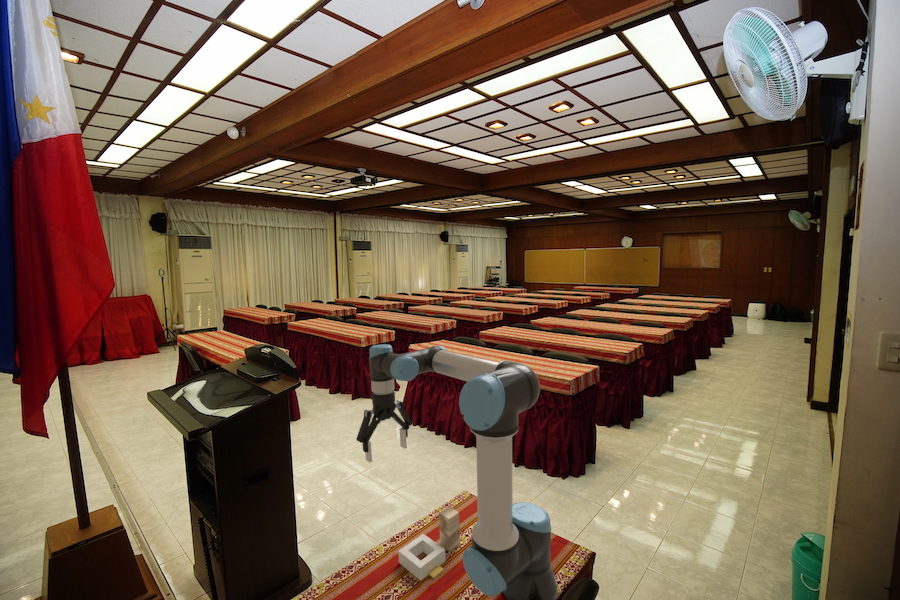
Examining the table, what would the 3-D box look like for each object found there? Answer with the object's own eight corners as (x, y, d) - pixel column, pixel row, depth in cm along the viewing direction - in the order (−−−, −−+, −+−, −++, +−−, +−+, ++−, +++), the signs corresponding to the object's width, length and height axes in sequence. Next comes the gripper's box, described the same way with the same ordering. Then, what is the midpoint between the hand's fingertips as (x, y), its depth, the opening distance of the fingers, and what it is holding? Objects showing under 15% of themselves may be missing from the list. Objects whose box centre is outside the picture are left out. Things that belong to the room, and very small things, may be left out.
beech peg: (459, 544, 128) (458, 512, 127) (450, 551, 125) (449, 519, 124) (449, 537, 132) (448, 506, 130) (440, 544, 128) (438, 512, 127)
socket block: (450, 565, 120) (450, 552, 119) (425, 585, 113) (425, 572, 112) (423, 545, 128) (423, 533, 128) (399, 562, 121) (398, 550, 121)
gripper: (407, 381, 143) (410, 439, 144) (343, 398, 127) (347, 463, 128) (420, 385, 137) (423, 445, 139) (354, 403, 121) (358, 471, 122)
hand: (386, 453), depth 133 cm, fingers open, 13 cm apart
